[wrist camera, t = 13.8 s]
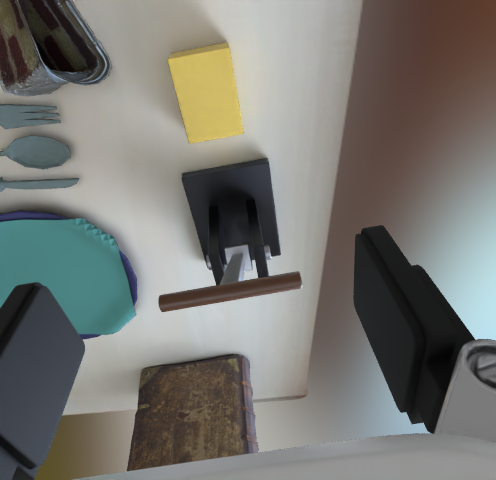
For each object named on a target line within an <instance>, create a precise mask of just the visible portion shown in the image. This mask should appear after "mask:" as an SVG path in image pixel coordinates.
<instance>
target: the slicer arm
mask: <svg viewBox="0 0 496 480" xmlns="http://www.w3.org/2000/svg"><path fill="white" fill-rule="evenodd" d="M224 250H225V255H226V261H227V268H226V271H225V273H224V276H223V278H222V281H221V283H220V285H216V286H210V287H205V288H199V289H193V290H187V291H181V292H176V293H170V294H164V295H160V296H159V307H160V310H161V311H162V312H166V311H172V310H178V309H184V308H189V307H195V306H201V305H207V304H213V303H219V302H224V301H230V300H236V299H242V298H248V297H254V296H259V295H265V294H271V293H277V292H283V291H289V290H294V289H300V288H302V281H301V276H300V273H299V272H298V271H297V272H291V273H286V274H280V275H274V276H268V277H262V278H257V279H251V280H245V281H243V277H244V271H250V270H252V260H251V254H250V249H249V243H248V242H243V243H237V244H232V245H227V246H226V247H225V249H224Z"/></svg>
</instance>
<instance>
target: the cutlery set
mask: <svg viewBox="0 0 496 480" xmlns="http://www.w3.org/2000/svg"><path fill="white" fill-rule="evenodd" d="M55 109H57V107H56V106H34V105H14V104H0V125H1V126H2V127H3V128H4V129H9V128H18V127H24V126H33V125H42V124H52V123H61V121H60V120H53V119H33V118H42V117H55V116H59V114H58V113H41V112H32V111H42V110H55ZM0 156H7V157H8V158H10V159H11V160H13V161H15V162H17V163H19V164H21V165H23V166H25V167H30V168H38V169H48V168H52V167H57V166H61V165H62V164H63V163H64V162H66V161H67V160H68V159H69V158H70V157H71V155H70V152H69V149H68V146H66V145H64V144H62V143H60V142H58V141H56V140H55V139H53V138H47V137H40V136H28V137H23V138H19V139H15V140H14V141H13V142H12V143H11V144H10V145H9V146H8V147H7V148H6V150H5V151H0ZM78 181H79V178H72V179H48V180H23V181H3V179H2V177H1V178H0V192H1V191H3V190H4V189H5V188H15V189H51V188H66V187H71V186H73V185H74V184H76V183H77V182H78ZM33 282H39V283H41V284H42V285H43V286H47V287H48V288H49V290H50V291H51V293H52V294H53V296H54V297H55V299H56V300H57V302H58V303H59V305H60V306H61V308H62V309H63V311H64V313H65V314H66V316H67V317H68V319H69V320H70V322H71V323H72V325H73V326H74V328H75V329H76V331H77V332H78V334H79V335H80V337H81V338H82V339H88V338H94V337H98V336H100V335H108V334H113V333H115V332H117V331H119V330H120V329H121V328H122V327H123V326H124V325H125V324H126V323H128V322H129V321H130V320H131V319H132V318H133V317H134V316H135V315H136V313H135V310H134V305H135V303H136V301H137V278H136V276H135V274H134V272H133V270H132V267H131V265H130V263H129V261H128V259H127V258H126V256H125V255H124V254H123V253H122V252H121V251H120V250H119V249H118V246H117V243H116V240H115V238H114V237H112V236H111V235H109V234H106V233H105V232H104V231H102V230H100V229H98V228H97V227H96V226H94V225H92V224H90V223H89V222H88V221H87V220H85V219H83V218H79V219H69V218H66V217H63V216H60V215H57V214H54V213H45V212H33V211H21V210H20V211H14V212H9V213H4V214H0V308H1V306H2V305H3V303H4V302H5V300H6V299H7V297H8V296H9V294H10V293H11V292H12V290H13V289H14V288H15V286H17V285H21V284H27V283H33Z"/></svg>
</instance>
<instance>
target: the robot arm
mask: <svg viewBox="0 0 496 480" xmlns="http://www.w3.org/2000/svg"><path fill="white" fill-rule="evenodd" d="M354 305H355V309H356V312H357V314H358V316H359V318H360V321H361V323H362V326H363V328H364V330H365V333H366V335H367V337H368V340H369V342H370V345H371V347H372V349H373V352H374V354H375V356H376V358H377V361H378V363H379V366H380V368H381V370H382V372H383V375H384V377H385V380H386V382H387V384H388V387H389V389H390V391H391V393H392V396H393V398H394V401H395V403H396V405H397V407H398V409H399V411H400V412H401V413H402V412H407V414H408V417H409V419H410V421H411V423H412V424H417V423H423V422H424V424H425V427H426V429H427V431H429V432H430V433H432V434H417V433H416V434H402V435H389V436H378V437H370V438H363V439H354V440H346V441H338V442H330V443H322V444H314V445H307V446H300V447H293V448H286V449H279V450H272V451H265V452H258V453H251V454H243V455H236V456H229V457H222V458H215V459H208V460H202V461H195V462H188V463H181V464H174V465H167V466H161V467H154V468H147V469H140V470H133V471H127V472H121V473H113V474H106V475H100V476H93V477H87V478H80V479H74V480H496V341H495V340H491V339H478V340H475V339H474V337H473V336H472V334H471V333H470V332H469V330H468V329H467V328H466V326H465V325H464V323H463V322H462V321H461V319H460V318H459V317H458V315H457V314H456V312H455V311H454V310H453V308H452V307H451V306H450V304H449V303H448V302H447V300H446V299H445V297H444V296H443V295H442V293H441V292H440V291H439V289H438V288H437V286H436V285H435V284H434V283H433V281H432V280H431V278H430V277H429V275H428V274H427V273H426V271H425V270H424V269H423V268H422V267H421V266H419V265H414V266H411V265H410V263H409V262H408V260H407V259H406V257H405V256H404V255H403V253H402V252H401V250H400V249H399V247H398V246H397V244H396V243H395V242H394V240H393V239H392V237H391V236H390V234H389V233H388V231H387V230H386V229H385V227H384V226H382V225H380V226H374V227H368V228H363V229H362V231H361V234H357V235H356V237H355V265H354ZM84 352H85V345H84V342H83V340H82V338H81V337H80V335H79V334H78V332H77V331H76V329H75V328H74V326H73V325H72V323H71V322H70V320H69V319H68V317H67V316H66V314H65V313H64V311H63V309H62V308H61V306H60V305H59V303H58V302H57V300H56V299H55V297H54V296H53V294H52V293H51V291H50V290H49V288H48V287H47V286H43V285H42V284H41V283H39V282H33V283H27V284H21V285H17V286H15V288H14V289H13V290H12V292H11V293H10V294H9V296H8V297H7V299H6V300H5V302H4V303H3V305H2V306H1V308H0V480H34V479H35V476H36V474H37V471H38V469H39V466H41V465H43V463H44V462H45V460H46V458H47V455H48V452H49V450H50V447H51V444H52V441H53V439H54V436H55V433H56V430H57V427H58V425H59V422H60V419H61V416H62V414H63V411H64V408H65V405H66V402H67V400H68V397H69V394H70V391H71V389H72V386H73V383H74V380H75V378H76V375H77V372H78V369H79V366H80V364H81V361H82V358H83V355H84Z"/></svg>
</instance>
